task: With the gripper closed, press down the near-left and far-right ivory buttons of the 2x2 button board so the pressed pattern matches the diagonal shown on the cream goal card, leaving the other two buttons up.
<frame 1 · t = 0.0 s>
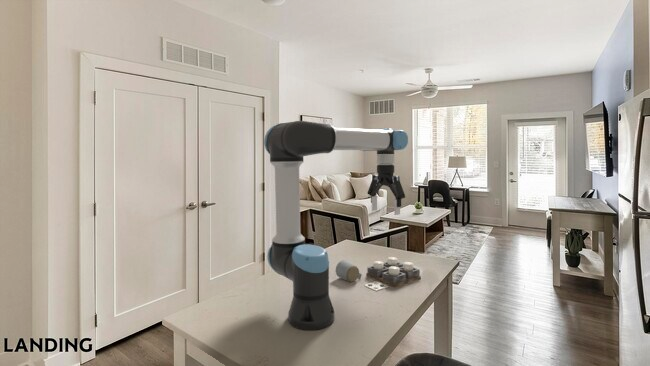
hand: (385, 212, 147), 28 cm above the table, fingers open, 13 cm apart
button far right: (408, 267, 144), point 5 cm above the table, slide at 0.0 cm
button near left: (378, 266, 146), point 5 cm above the table, slide at 0.0 cm
button far left: (392, 262, 151), point 5 cm above the table, slide at 0.0 cm
ceramic mug: (349, 279, 144), on the table
button near right: (394, 272, 139), point 5 cm above the table, slide at 0.0 cm
button board: (393, 277, 145), on the table
goal card: (376, 286, 136), on the table
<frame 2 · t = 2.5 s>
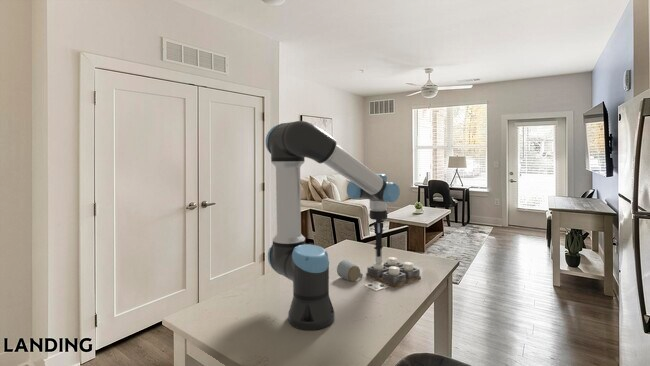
hand: (378, 262, 146), 6 cm above the table, fingers closed
button near left: (378, 267, 146), point 4 cm above the table, slide at 0.4 cm, touching gripper
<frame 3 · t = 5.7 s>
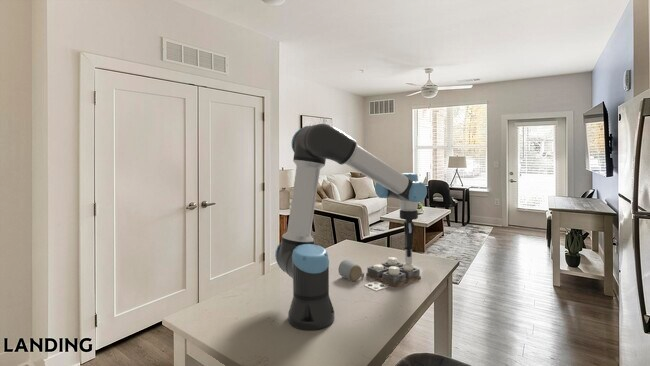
hand: (408, 263, 144), 6 cm above the table, fingers closed
button far right: (408, 267, 144), point 5 cm above the table, slide at 0.1 cm, touching gripper
button near left: (378, 269, 146), point 3 cm above the table, slide at 1.5 cm
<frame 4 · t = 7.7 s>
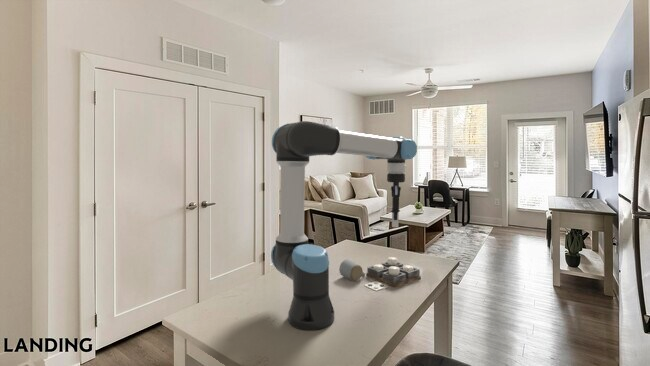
hand: (395, 226, 145), 22 cm above the table, fingers closed
button far right: (408, 270, 144), point 3 cm above the table, slide at 1.5 cm
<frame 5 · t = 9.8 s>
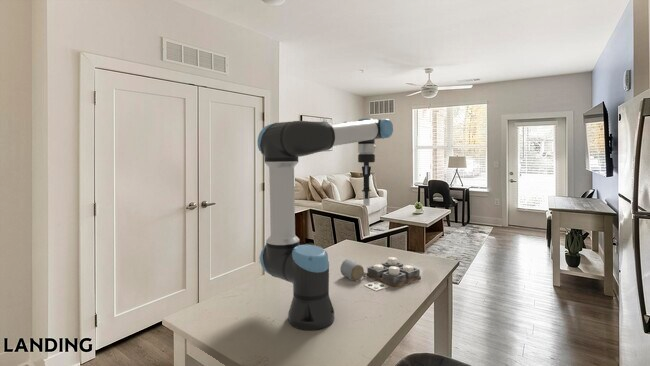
hand: (366, 205, 152), 30 cm above the table, fingers closed
at the end: button near left slide at 1.5 cm; button far right slide at 1.5 cm; button near right slide at 0.0 cm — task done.
